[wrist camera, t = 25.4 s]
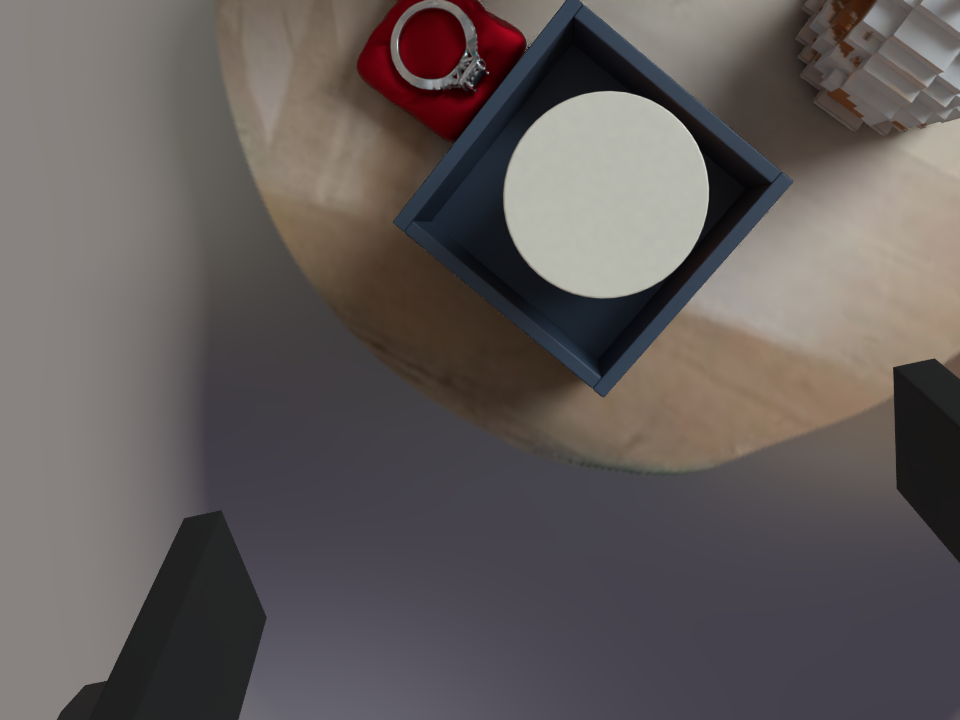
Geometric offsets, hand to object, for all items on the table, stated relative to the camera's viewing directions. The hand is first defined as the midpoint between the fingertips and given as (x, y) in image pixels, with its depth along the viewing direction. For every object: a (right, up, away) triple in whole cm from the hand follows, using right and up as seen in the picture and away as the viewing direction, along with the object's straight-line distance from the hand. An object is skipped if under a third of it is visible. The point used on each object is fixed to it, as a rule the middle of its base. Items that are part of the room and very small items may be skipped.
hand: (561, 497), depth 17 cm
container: (+4, +10, +23) cm, 25 cm away
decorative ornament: (+16, +16, +21) cm, 31 cm away
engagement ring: (-3, +16, +23) cm, 28 cm away
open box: (+3, +10, +23) cm, 25 cm away
